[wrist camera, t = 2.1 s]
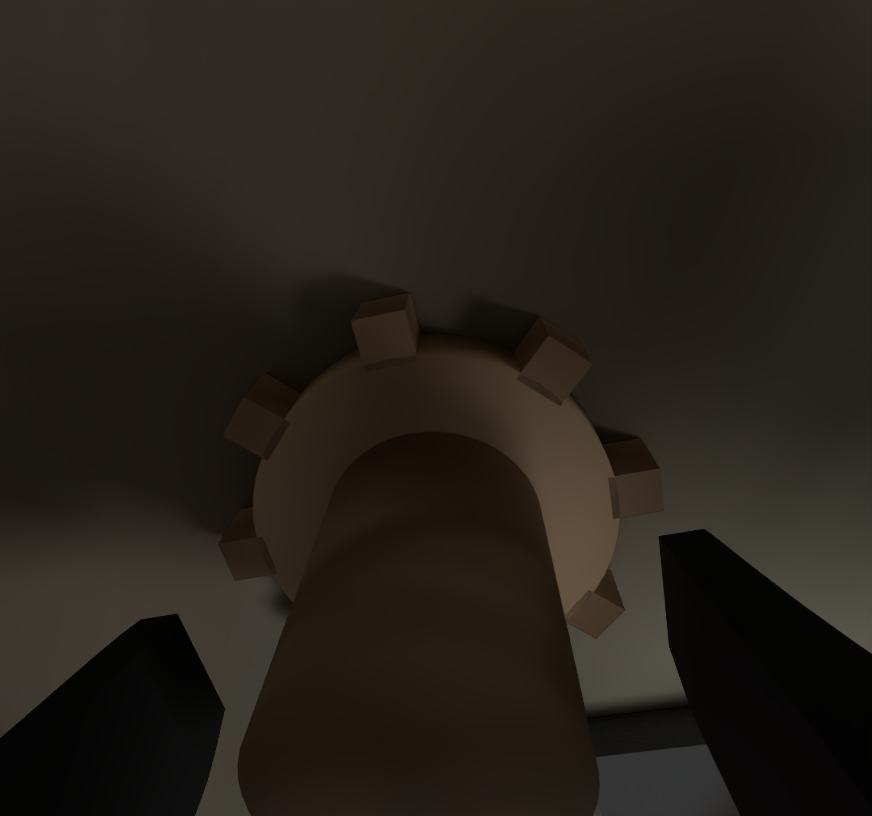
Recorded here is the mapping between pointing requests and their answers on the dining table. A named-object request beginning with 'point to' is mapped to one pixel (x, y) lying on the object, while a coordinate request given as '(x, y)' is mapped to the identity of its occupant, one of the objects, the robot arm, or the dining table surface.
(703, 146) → the dining table surface
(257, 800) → the gear
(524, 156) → the dining table surface
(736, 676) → the robot arm
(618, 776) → the carrier plate
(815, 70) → the dining table surface
